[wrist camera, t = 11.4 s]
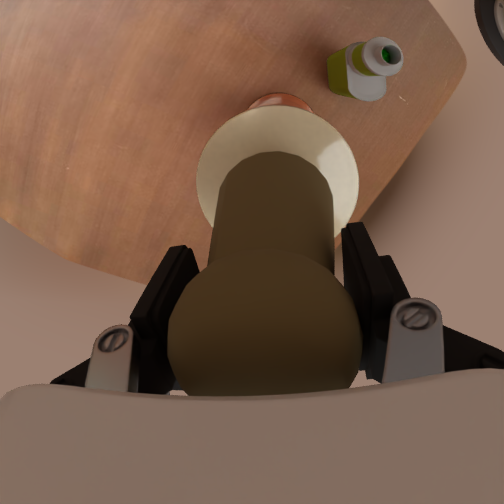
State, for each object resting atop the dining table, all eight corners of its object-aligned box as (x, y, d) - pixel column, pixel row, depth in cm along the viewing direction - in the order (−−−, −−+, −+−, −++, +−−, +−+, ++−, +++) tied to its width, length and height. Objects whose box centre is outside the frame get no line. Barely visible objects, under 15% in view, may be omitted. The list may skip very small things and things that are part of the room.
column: (329, 109, 37) (385, 146, 17) (301, 176, 42) (318, 277, 22) (256, 82, 36) (223, 82, 16) (232, 151, 41) (179, 230, 21)
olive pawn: (353, 227, 16) (414, 411, 7) (258, 275, 18) (232, 458, 9) (295, 128, 14) (322, 238, 5) (194, 191, 16) (87, 353, 7)
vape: (353, 52, 33) (412, 31, 16) (357, 95, 36) (417, 109, 19) (325, 51, 33) (363, 26, 16) (329, 95, 36) (369, 107, 19)
